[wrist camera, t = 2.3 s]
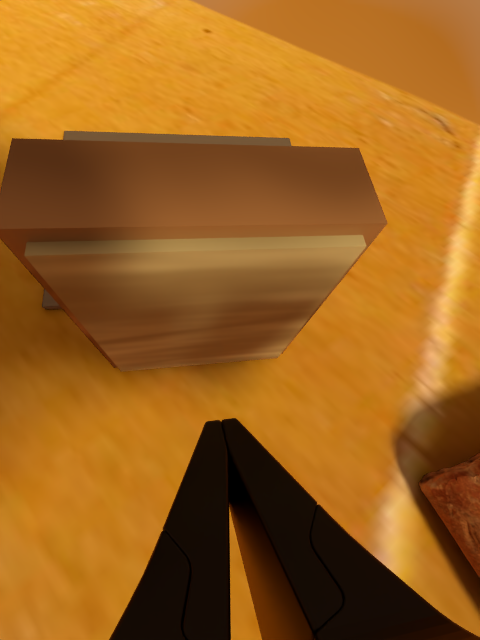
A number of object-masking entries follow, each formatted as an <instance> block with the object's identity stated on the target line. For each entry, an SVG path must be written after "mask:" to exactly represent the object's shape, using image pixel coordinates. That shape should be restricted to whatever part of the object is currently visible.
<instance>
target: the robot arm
mask: <svg viewBox="0 0 480 640" xmlns="http://www.w3.org/2000/svg"><path fill="white" fill-rule="evenodd" d="M229 507H230V511H231V516H232V520H233V524H234V528H235V532H236V536H237V540H238V544H239V548H240V552H241V556H242V560H243V564H244V568H245V572H246V576H247V580H248V584H249V588H250V592H251V596H252V600H253V604H254V608H255V612H256V616H257V620H258V624H259V628H260V632H261V636H262V640H480V637H478V636H476V635H474V634H473V633H471V632H469V631H467V630H465V629H464V628H462V627H461V626H459V625H457V624H456V623H454V622H453V621H451V620H450V619H448V618H447V617H446V616H444V615H443V614H442V613H440V612H439V611H438V610H437V609H435V608H434V607H433V606H432V605H430V604H429V603H428V602H427V601H426V600H424V599H423V598H422V597H421V596H420V595H419V594H417V593H416V592H415V591H414V590H413V589H412V588H410V587H409V586H408V585H407V584H406V583H405V582H403V581H402V580H401V579H400V578H399V577H398V576H396V575H395V574H394V573H393V572H392V571H390V570H389V569H388V568H387V567H386V566H385V565H383V564H382V563H381V562H380V561H379V560H378V559H376V558H375V557H374V556H373V555H372V554H371V553H370V552H368V551H367V550H366V549H365V548H364V547H363V546H362V545H361V544H359V543H358V542H357V541H356V540H355V539H354V538H353V537H352V536H350V535H349V534H348V533H347V532H346V531H345V530H344V529H343V528H342V527H341V526H340V525H339V524H338V523H337V522H336V521H335V520H334V519H333V518H332V517H331V516H330V515H329V514H328V513H327V512H326V511H325V510H324V509H323V508H322V507H321V506H320V505H319V504H318V505H317V502H316V501H315V500H314V498H313V497H312V496H311V495H310V494H309V493H308V492H307V491H306V490H305V489H304V488H303V487H302V486H301V485H300V484H299V483H298V482H297V481H296V480H295V479H294V478H293V477H292V476H291V475H290V474H289V473H288V472H287V471H286V469H285V468H284V467H283V466H282V465H281V464H280V463H279V462H278V461H277V460H276V459H275V458H274V457H273V456H272V455H271V454H270V453H269V452H268V451H267V450H266V449H265V448H264V447H263V446H262V445H261V444H260V443H259V441H258V440H257V439H256V438H255V437H254V436H253V435H252V434H251V433H250V432H249V431H248V430H247V429H246V428H245V427H244V426H243V425H242V424H241V423H240V422H239V421H238V420H237V419H235V418H232V419H224V420H222V422H221V421H220V420H215V421H207V422H206V423H205V425H204V427H203V430H202V432H201V435H200V437H199V440H198V442H197V445H196V447H195V450H194V452H193V455H192V457H191V460H190V462H189V465H188V467H187V470H186V472H185V475H184V477H183V480H182V482H181V484H180V487H179V489H178V492H177V494H176V497H175V499H174V502H173V504H172V507H171V509H170V512H169V514H168V517H167V519H166V522H165V524H164V527H163V531H162V532H161V534H160V536H159V539H158V541H157V544H156V546H155V549H154V551H153V553H152V555H151V558H150V560H149V562H148V565H147V567H146V569H145V571H144V574H143V576H142V578H141V580H140V582H139V584H138V586H137V588H136V590H135V592H134V594H133V596H132V598H131V600H130V602H129V604H128V605H127V607H126V609H125V611H124V613H123V615H122V617H121V619H120V620H119V622H118V624H117V626H116V628H115V630H114V632H113V634H112V635H111V637H110V639H109V640H231V626H230V543H229Z"/></svg>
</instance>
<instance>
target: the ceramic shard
mask: <svg viewBox="0 0 480 640" xmlns="http://www.w3.org/2000/svg"><path fill="white" fill-rule="evenodd" d="M419 486H420V488H421V490H422V492H423V493H424V495H425V496H426V497H427V499H428V500H429V502H430V503H431V505H432V506H433V508H434V509H435V511H436V512H437V514H438V515H439V517H440V518H441V520H442V521H443V523H444V524H445V526H446V527H447V529H448V530H449V532H450V533H451V535H452V536H453V538H454V539H455V541H456V542H457V544H458V546H459V547H460V549H461V550H462V552H463V553H464V555H465V557H466V558H467V560H468V561H469V563H470V564H471V566H472V567H473V569H474V570H475V572H476V573H477V575H478V576H479V578H480V453H478V454H477V455H475V456H473V457H471V458H470V459H469V460H467V461H465V462H463V463H460V464H458V465H456V466H454V467H452V468H443V469H441V470H439V471H437V472H430V473H427V474H426V475H424V477H423V479H422V480H421V481H420V482H419Z"/></svg>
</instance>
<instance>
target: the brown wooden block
mask: <svg viewBox="0 0 480 640" xmlns="http://www.w3.org/2000/svg"><path fill="white" fill-rule="evenodd" d="M386 225H387V220H386V218H385V215H384V213H383V210H382V207H381V205H380V202H379V200H378V197H377V194H376V192H375V189H374V186H373V184H372V181H371V179H370V176H369V173H368V171H367V168H366V166H365V163H364V160H363V158H362V155H361V152H360V150H359V148H335V147H299V146H264V145H228V144H192V143H156V142H120V141H85V140H49V139H13V138H12V141H11V146H10V150H9V155H8V159H7V164H6V169H5V173H4V178H3V182H2V187H1V191H0V239H1V240H2V241H3V242H4V243H5V244H6V245H7V247H8V248H9V249H10V250H11V251H12V252H13V253H14V254H15V256H16V257H17V258H18V259H19V260H20V261H21V262H22V264H23V265H24V266H25V267H26V268H27V269H28V270H29V272H30V273H31V274H32V275H33V276H34V277H35V278H36V279H37V281H38V282H39V283H40V284H41V285H42V286H43V287H44V289H45V290H46V291H47V292H48V293H49V294H50V295H51V297H52V298H53V299H54V300H55V301H56V302H57V303H58V304H59V306H60V307H61V308H62V309H63V310H64V311H65V312H66V314H67V315H68V316H69V317H70V318H71V319H72V320H73V322H74V323H75V324H76V325H77V326H78V327H79V328H80V329H81V331H82V332H83V333H84V334H85V335H86V336H87V337H88V339H89V340H90V341H91V342H92V343H93V344H94V345H95V347H96V348H97V349H98V350H99V351H100V352H101V353H102V354H103V356H104V357H105V358H106V359H107V360H108V361H109V362H110V364H111V365H112V366H113V367H114V368H115V367H118V368H119V369H120V371H132V370H143V369H155V368H166V367H178V366H189V365H201V364H212V363H224V362H235V361H247V360H258V359H270V358H278V356H279V355H280V354H281V353H283V352H284V350H285V349H286V348H287V347H288V345H289V344H290V343H291V342H292V341H293V339H294V338H295V337H296V336H297V334H298V333H299V332H300V331H301V329H302V328H303V327H304V326H305V325H306V323H307V322H308V321H309V320H310V318H311V317H312V316H313V315H314V313H315V312H316V311H317V310H318V308H319V307H320V306H321V305H322V304H323V302H324V301H325V300H326V299H327V297H328V296H329V295H330V294H331V292H332V291H333V290H334V289H335V287H336V286H337V285H338V284H339V283H340V281H341V280H342V279H343V278H344V276H345V275H346V274H347V273H348V271H349V270H350V269H351V268H352V266H353V265H354V264H355V263H356V262H357V260H358V259H359V258H360V257H361V255H362V254H363V253H364V252H365V250H366V249H367V248H368V247H369V246H370V244H371V243H372V242H373V241H374V239H375V238H376V237H377V236H378V234H379V233H380V232H381V231H382V229H383V228H384V227H385V226H386Z"/></svg>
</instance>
